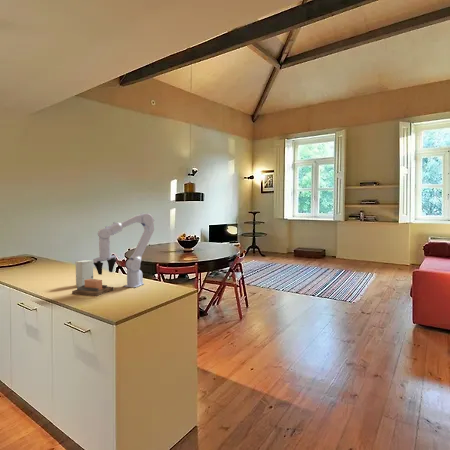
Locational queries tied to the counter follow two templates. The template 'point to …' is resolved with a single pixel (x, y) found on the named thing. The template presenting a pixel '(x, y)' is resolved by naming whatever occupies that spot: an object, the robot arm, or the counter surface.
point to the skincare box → (83, 271)
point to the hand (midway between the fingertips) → (105, 273)
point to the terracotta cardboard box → (93, 283)
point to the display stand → (91, 290)
